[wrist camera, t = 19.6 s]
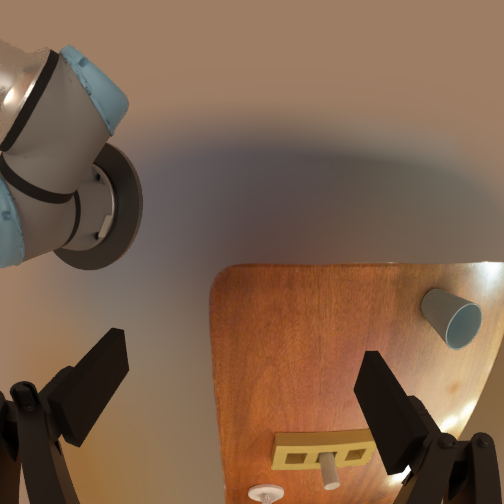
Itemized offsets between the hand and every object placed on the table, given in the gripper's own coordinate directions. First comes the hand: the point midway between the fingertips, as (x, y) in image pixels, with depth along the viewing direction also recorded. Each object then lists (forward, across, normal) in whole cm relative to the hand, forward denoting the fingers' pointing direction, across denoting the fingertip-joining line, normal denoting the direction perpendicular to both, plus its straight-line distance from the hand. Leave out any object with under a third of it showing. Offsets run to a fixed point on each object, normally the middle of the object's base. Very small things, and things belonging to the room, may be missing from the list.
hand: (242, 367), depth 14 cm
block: (+28, +18, -40) cm, 53 cm away
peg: (+28, +18, -40) cm, 53 cm away
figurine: (+28, +9, -63) cm, 69 cm away
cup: (+28, +32, -6) cm, 43 cm away
